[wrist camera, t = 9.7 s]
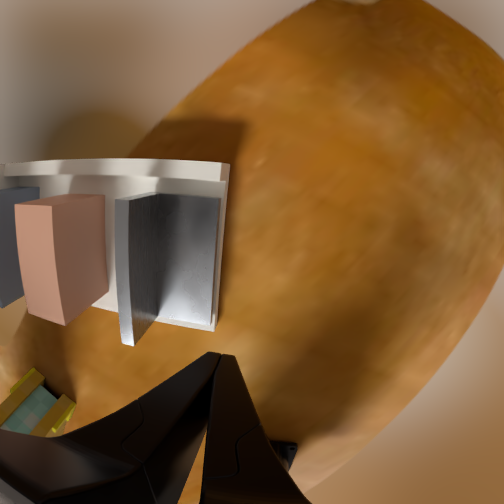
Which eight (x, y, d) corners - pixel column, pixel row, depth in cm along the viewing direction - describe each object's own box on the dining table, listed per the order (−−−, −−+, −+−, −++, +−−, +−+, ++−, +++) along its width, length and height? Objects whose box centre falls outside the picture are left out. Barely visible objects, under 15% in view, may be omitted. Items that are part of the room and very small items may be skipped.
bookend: (212, 321, 19) (195, 359, 15) (150, 310, 19) (122, 343, 15) (221, 197, 17) (202, 206, 13) (151, 191, 17) (114, 199, 13)
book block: (108, 291, 20) (65, 325, 14) (73, 283, 20) (28, 313, 15) (105, 194, 18) (51, 205, 12) (67, 193, 18) (14, 204, 13)
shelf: (216, 324, 21) (193, 382, 14) (26, 281, 22) (-20, 307, 15) (230, 163, 18) (203, 160, 11) (20, 162, 19) (-35, 168, 12)
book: (33, 367, 25) (-86, 495, 1) (76, 403, 26) (-29, 553, 1) (28, 421, 29) (-46, 516, 5) (61, 448, 30) (-6, 551, 6)
